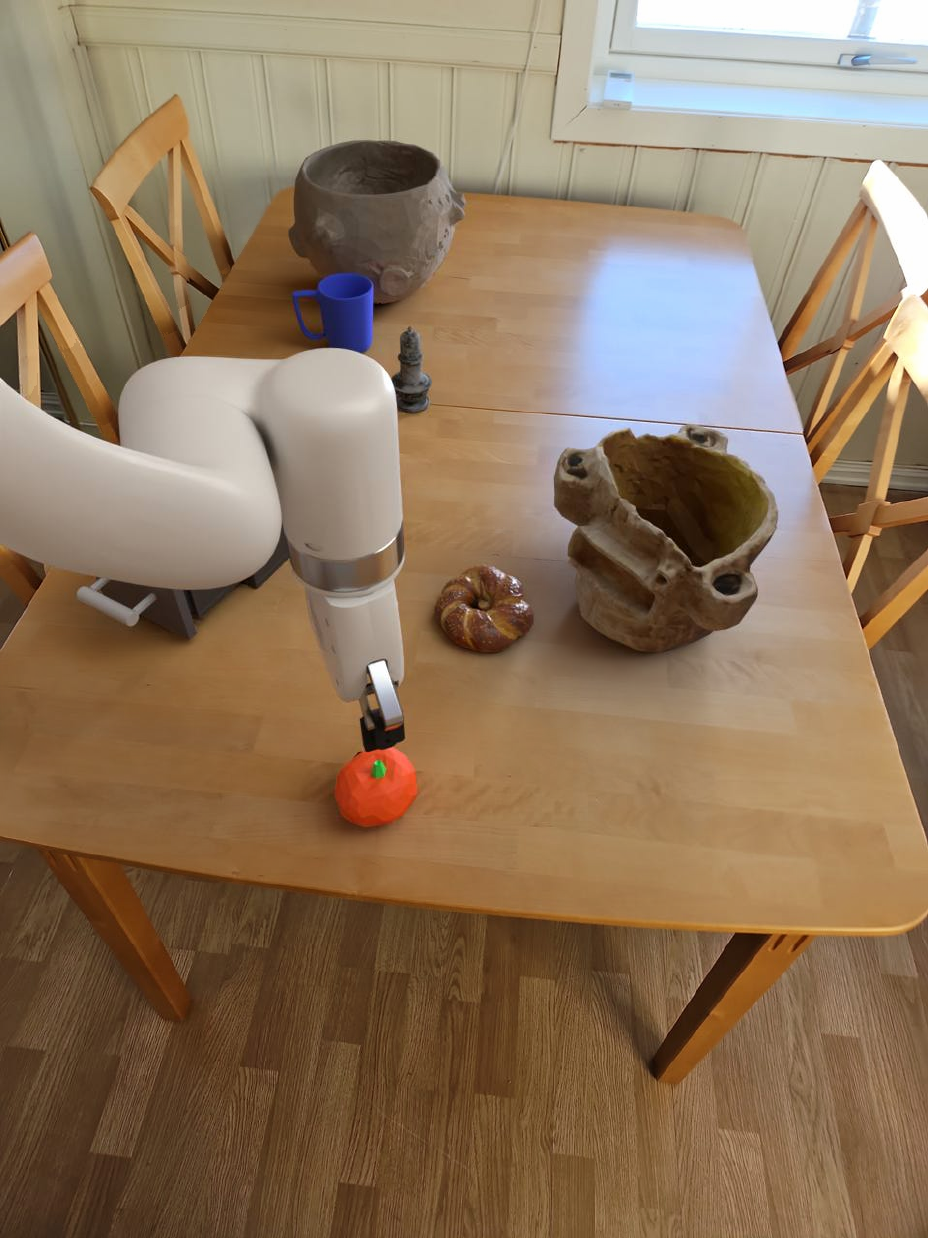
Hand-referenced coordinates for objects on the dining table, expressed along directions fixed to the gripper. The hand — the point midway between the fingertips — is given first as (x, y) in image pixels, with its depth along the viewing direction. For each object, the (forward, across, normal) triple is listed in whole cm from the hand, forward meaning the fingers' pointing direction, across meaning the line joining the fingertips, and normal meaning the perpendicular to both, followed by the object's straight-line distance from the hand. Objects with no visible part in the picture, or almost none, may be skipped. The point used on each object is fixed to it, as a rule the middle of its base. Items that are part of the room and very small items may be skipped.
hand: (365, 695), depth 66 cm
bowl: (+16, -93, +30) cm, 99 cm away
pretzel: (+16, -17, +18) cm, 29 cm away
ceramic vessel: (+16, -10, +36) cm, 40 cm away
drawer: (+14, -32, -13) cm, 37 cm away
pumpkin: (+15, +1, 0) cm, 15 cm away
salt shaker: (+16, -59, +24) cm, 65 cm away
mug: (+15, -77, +18) cm, 80 cm away
